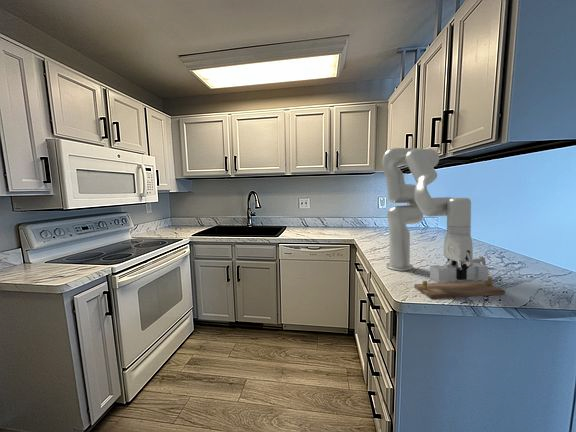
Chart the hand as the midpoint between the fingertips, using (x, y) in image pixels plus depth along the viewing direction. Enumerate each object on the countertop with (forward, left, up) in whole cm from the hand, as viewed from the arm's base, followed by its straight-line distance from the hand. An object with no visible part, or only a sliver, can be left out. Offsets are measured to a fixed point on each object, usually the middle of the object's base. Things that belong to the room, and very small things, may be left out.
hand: (458, 277), depth 99 cm
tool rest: (0, 0, -5) cm, 5 cm away
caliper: (-28, +23, -6) cm, 37 cm away
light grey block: (0, 0, -1) cm, 1 cm away
